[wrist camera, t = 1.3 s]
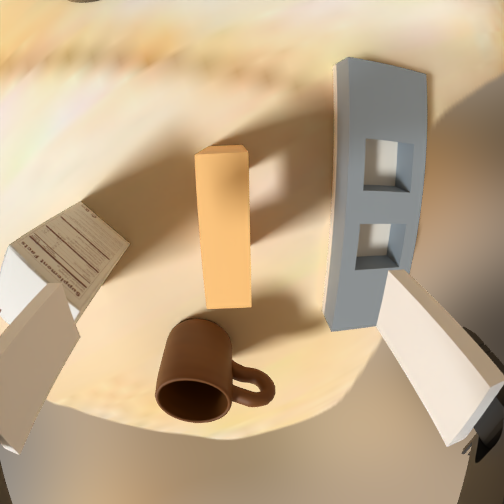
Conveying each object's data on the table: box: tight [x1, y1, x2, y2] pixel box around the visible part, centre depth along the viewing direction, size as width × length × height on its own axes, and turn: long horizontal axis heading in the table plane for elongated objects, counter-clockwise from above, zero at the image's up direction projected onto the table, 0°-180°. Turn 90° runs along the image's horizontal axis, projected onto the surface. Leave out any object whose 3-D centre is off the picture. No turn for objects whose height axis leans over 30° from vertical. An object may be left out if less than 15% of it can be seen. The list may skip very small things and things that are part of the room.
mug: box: [155, 319, 275, 423], centre depth 30 cm, size 12×8×9 cm, turn 82°
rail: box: [322, 57, 427, 332], centre depth 26 cm, size 26×8×4 cm, turn 1°
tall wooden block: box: [195, 145, 251, 309], centre depth 23 cm, size 10×3×10 cm, turn 1°
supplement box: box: [0, 202, 130, 325], centre depth 22 cm, size 7×7×13 cm
